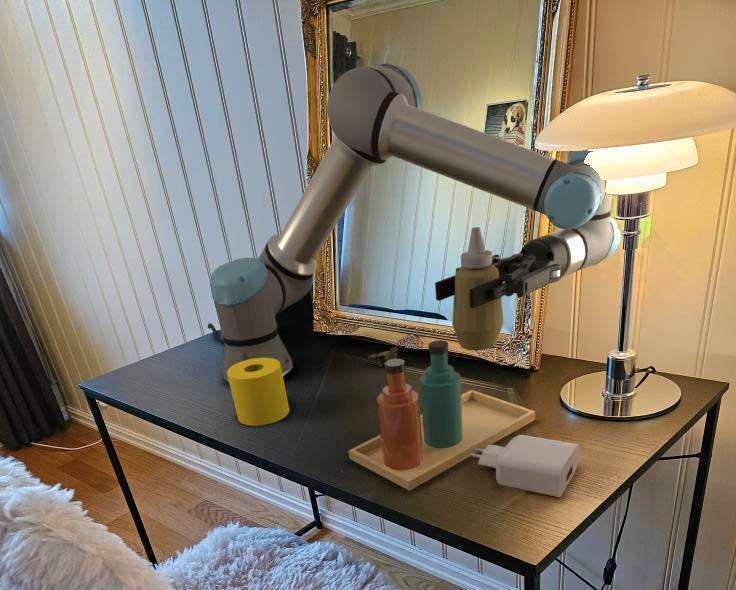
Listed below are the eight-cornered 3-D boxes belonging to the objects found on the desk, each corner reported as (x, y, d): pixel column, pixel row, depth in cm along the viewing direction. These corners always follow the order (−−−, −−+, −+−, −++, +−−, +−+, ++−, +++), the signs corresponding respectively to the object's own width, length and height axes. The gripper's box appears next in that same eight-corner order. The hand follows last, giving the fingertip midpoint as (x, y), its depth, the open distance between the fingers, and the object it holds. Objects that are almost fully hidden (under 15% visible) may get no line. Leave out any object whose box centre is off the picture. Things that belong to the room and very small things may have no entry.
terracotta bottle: (375, 461, 105) (364, 364, 96) (404, 446, 108) (396, 351, 99) (401, 474, 101) (392, 374, 92) (431, 458, 104) (425, 360, 95)
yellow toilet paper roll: (268, 398, 132) (259, 354, 127) (299, 410, 126) (291, 364, 120) (228, 417, 127) (216, 371, 121) (258, 430, 120) (247, 383, 115)
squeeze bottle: (502, 353, 102) (503, 232, 92) (451, 355, 103) (445, 236, 93) (504, 335, 108) (504, 219, 98) (455, 337, 110) (450, 224, 100)
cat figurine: (398, 367, 137) (393, 349, 135) (367, 371, 141) (362, 353, 140) (404, 362, 139) (400, 344, 137) (374, 366, 143) (368, 348, 141)
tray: (349, 461, 107) (348, 450, 106) (471, 399, 121) (471, 389, 120) (409, 493, 97) (408, 481, 96) (535, 422, 111) (535, 411, 110)
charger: (484, 451, 105) (577, 468, 98) (460, 480, 99) (558, 500, 92) (483, 425, 102) (579, 441, 95) (459, 453, 96) (560, 472, 89)
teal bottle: (416, 440, 109) (408, 345, 100) (443, 426, 113) (438, 333, 103) (443, 452, 105) (438, 354, 96) (470, 437, 108) (468, 341, 99)
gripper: (599, 288, 105) (503, 331, 93) (505, 273, 118) (412, 309, 107) (603, 239, 101) (503, 278, 89) (505, 229, 114) (408, 262, 103)
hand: (454, 295), depth 98 cm, fingers closed on squeeze bottle, 6 cm apart
